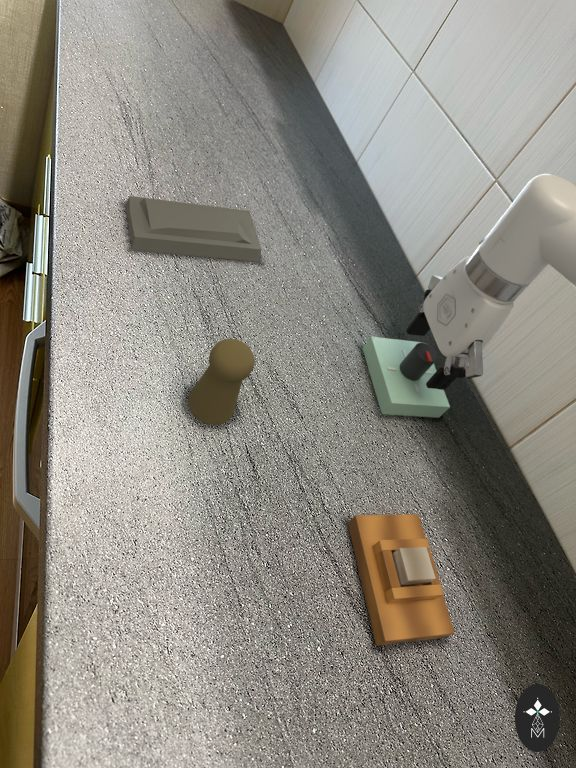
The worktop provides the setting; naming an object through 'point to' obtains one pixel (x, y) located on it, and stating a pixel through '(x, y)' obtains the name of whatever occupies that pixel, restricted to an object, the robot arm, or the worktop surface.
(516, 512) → the worktop surface
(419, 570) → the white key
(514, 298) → the robot arm
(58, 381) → the worktop surface
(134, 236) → the grey bevelled block
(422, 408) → the volume panel
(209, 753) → the worktop surface
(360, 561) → the light switch
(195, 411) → the brown pawn
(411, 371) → the volume knob
